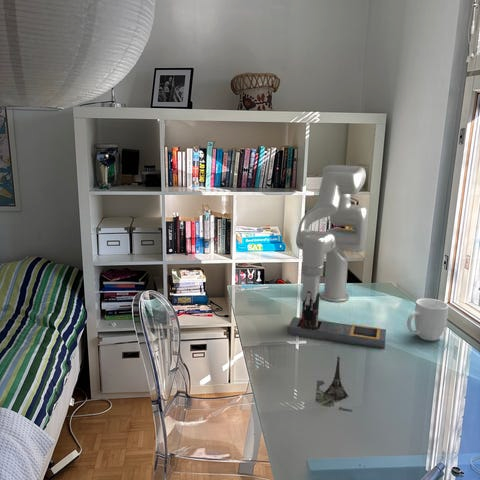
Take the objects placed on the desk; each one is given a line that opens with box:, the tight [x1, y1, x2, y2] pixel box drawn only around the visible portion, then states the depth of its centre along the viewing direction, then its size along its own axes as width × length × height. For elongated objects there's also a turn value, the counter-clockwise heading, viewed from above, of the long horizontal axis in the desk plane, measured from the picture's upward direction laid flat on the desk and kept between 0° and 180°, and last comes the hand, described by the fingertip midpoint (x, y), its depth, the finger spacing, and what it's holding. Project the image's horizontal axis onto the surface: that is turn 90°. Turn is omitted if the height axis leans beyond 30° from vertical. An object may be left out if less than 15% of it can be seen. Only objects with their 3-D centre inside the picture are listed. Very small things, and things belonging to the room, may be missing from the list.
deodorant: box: [300, 293, 320, 330], centre depth 177 cm, size 6×6×15 cm
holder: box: [287, 316, 387, 349], centre depth 175 cm, size 10×34×3 cm, turn 72°
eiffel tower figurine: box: [315, 355, 353, 412], centre depth 135 cm, size 15×10×13 cm
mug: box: [406, 298, 449, 342], centre depth 174 cm, size 15×11×13 cm
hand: (309, 316), depth 177 cm, fingers closed on deodorant, 5 cm apart
